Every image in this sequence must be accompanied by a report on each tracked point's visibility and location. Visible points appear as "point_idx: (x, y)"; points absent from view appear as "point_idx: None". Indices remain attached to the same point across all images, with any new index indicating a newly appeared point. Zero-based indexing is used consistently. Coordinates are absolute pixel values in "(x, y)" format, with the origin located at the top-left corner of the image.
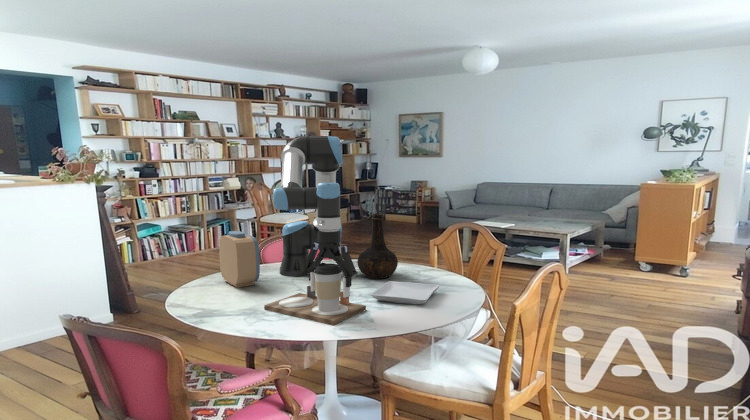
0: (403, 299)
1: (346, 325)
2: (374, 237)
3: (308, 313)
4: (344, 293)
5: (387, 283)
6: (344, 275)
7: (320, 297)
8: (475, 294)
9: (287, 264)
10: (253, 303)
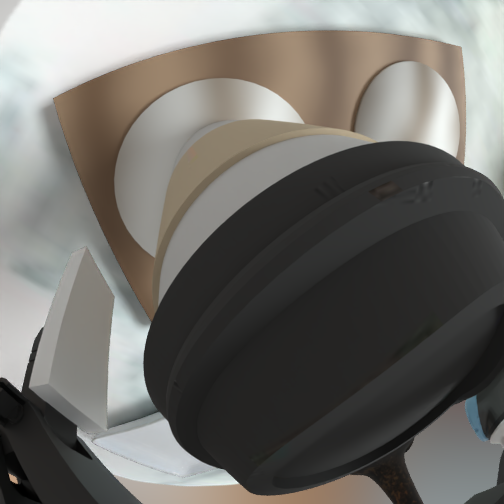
0: (139, 423)
1: (26, 153)
2: (401, 483)
3: (257, 55)
4: (67, 269)
5: None
6: (35, 413)
7: (240, 121)
8: (131, 477)
9: None
10: (491, 81)
